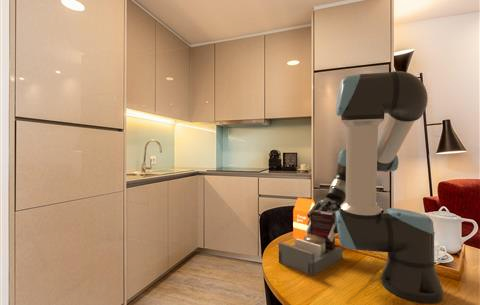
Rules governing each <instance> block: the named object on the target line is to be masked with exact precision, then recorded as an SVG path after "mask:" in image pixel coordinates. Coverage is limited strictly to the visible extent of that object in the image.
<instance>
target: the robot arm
mask: <svg viewBox="0 0 480 305" xmlns="http://www.w3.org/2000/svg"><path fill="white" fill-rule="evenodd" d="M337 91H338V92H337V97H336V104H335V105H336V106H335V108H336V109H335V115H336V116H339V117H341V118H340V122H341V123H342V124H343V125H344V126H345V127H346V129H345V130H346V133H345V134H346V137H345V138H346V139H345V141H346V142H345V147H344V148H343V149H342V150H341V151H340V152H339V154H338V157H337V167H336V173H335V176H334V177H333V180H332V182H331V184H330V186H329V189H328V190H327V192H326V195H325V198H324V199H320V198H317V199H316V201H315V205H314V206H313V208H312V209H311V210H310V211H309V213H308V214H307V217H308V218H309V221H308V223H307V225H308V227H307V229H306V231H305V232H306V233H307V235H310V234H311V212H312V211H314V210H317V211H324V212H330V211H332V212H333V213H335V223H334V224H333V226H332V229H331V231H330V233H329V236H328V239H329V240H330V241H331V242H332V241H333V239H334V236H335V237H336V235H338V240H339V243H340V245H341V246H342V248H345V249H348V250H354V251H365V252H376V253H377V252H378V253H387V259H386V262H385V265H384V267H383V270H382V273H381V285H382V286H383V288H385V289H386V290H387V291H388V292H390V293H392V294H393V295H395V296H397V297H400V298H403V299H406V300H408V301H412V302H418V303H423V304H437V303H439V302H442V301H443V299H444V290H443V286H442V283H441V281H440V278H439V276H438V273H437V271H436V268H435V234H436V233H435V229H434V221H433V220H432V218H431V217H429V216H427V215H426V214H423V213H421V212H416V211H412V210H409V209H401V208H396V207H395V208H392V207H389V208H387V209H386V211H385V213H384V212H383V213H382V211H383V210H382V208H381V207H380V206H379V205H378V204H377V186H378V185H377V182H378V181H377V179H378V178H377V177H378V172H384V173H385V172H386V173H387V172H395V171H396V170H398V167H399V156H398V155H397V154H398V152H399V150H400V149H401V146H402V145H403V144H404V141H405V140H406V138H407V135H408V134H409V132H410V130H411V129H412V128H413V127H412V126H413V125H414V123H415V122H416V121H418V120H419V119H420V118H422V116H423V115H424V112H425V111H426V108H427V106H428V92H427V89H426V86H425V85H424V83H423V82H422V80H421V79H419V78H418V77H417V76H415V75H414V74H412V73H409V72H407V71H401V70H397V71H396V70H394V71H389V72H374V73H373V72H372V73H371V72H370V73H358V74H352V75H347V76H345V77H344V78H342V79H341V81H340V84H339V87H338V90H337ZM385 114H387V117H386V118H385ZM384 121H385V123H384V124H383V127H382V129H381V132H380V135H379V134H378V133H379V125H380V124H381V123H383V122H384Z"/></svg>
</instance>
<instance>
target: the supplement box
mask: <svg viewBox="0 0 480 305" xmlns="http://www.w3.org/2000/svg"><path fill="white" fill-rule="evenodd" d="M334 223H336V219H335V213H334V212H333V211H332V212H330V211H327V212H324V211H317V210H314V211H312V212H311V235H320V236H323V237H324V238H325V239H326V242H325V253H327V252H329V251H331V250H333V249H335V248H336V235H335V236H334V239H333V241H332V242H331V241H330V240H329V239H328V236H329V233H330V231H331V229H332V226H333V224H334Z"/></svg>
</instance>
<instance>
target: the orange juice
mask: <svg viewBox="0 0 480 305" xmlns="http://www.w3.org/2000/svg"><path fill="white" fill-rule="evenodd" d="M315 204H316V202H315V201H314V199H312V198H304V197H297V200H296V202H295V205H294V207H293V211H292V214H293V215H292V216H293V219H292V220H293V223H292V226H293V232H292V233H293V235H292V236H293V237H292V238H293V239H296V238H297V239H301V240H303V237H304V236H305V235H307V233H306V232H305V231H306V229H307V227H308V225H307V223H308V221H309V218H308V217H307V214H308V213H309V211H310V210H311V209H312V208H313V206H314V205H315ZM310 235H311V234H310Z"/></svg>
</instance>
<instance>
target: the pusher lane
mask: <svg viewBox="0 0 480 305" xmlns="http://www.w3.org/2000/svg"><path fill="white" fill-rule="evenodd" d="M342 259H343V247H341V246H338V247H335V249H333V250H331V251H329V252H327V253H325V254H323V255H321V256H319V257H317V258H315V259H314V253H312V252H309V251H306V250H303V249H300V248H297V247H295V244H294V245H290V244H287V243H284V242H278V263H279V264H281V265H283V266H284V265H285V266H287V267H289V268H291V269H294V270H296V271H299V272H301V273H303V274H306V275H308V276H311V277H313V276H315V275H316V274H318V273H320V272H322V271H323V270H326V269H327V268H329V267H330V266H332V265H333V264H335V263H337V262H339V261H340V260H342Z"/></svg>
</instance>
